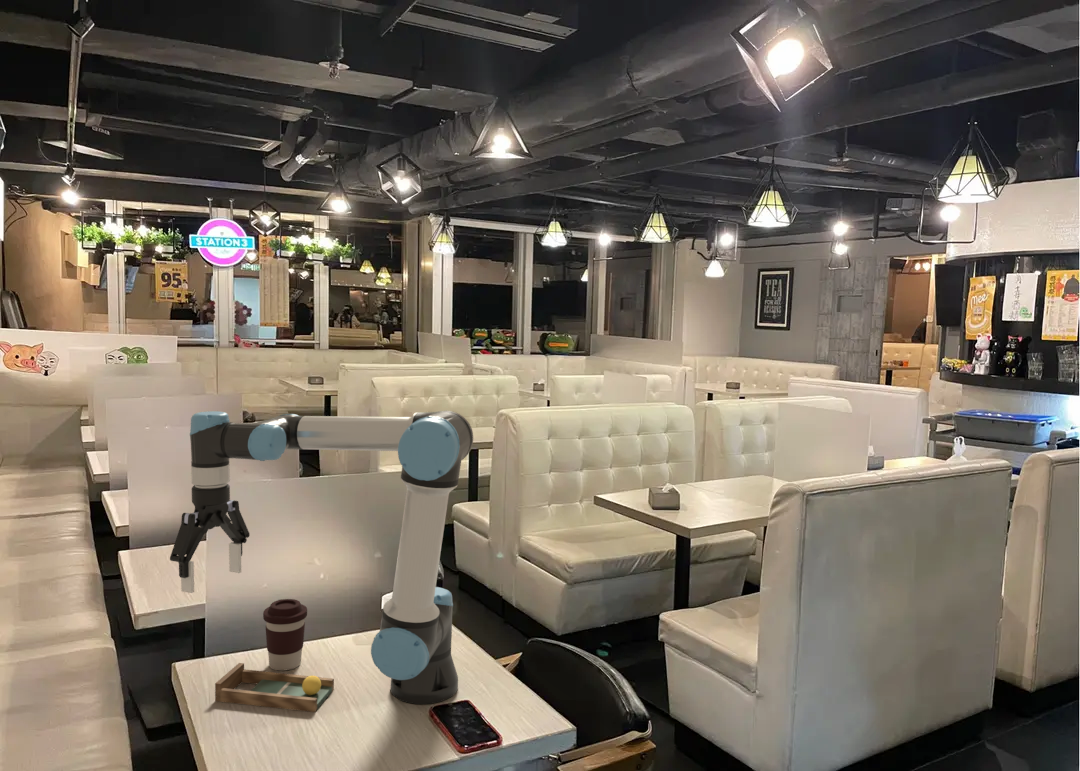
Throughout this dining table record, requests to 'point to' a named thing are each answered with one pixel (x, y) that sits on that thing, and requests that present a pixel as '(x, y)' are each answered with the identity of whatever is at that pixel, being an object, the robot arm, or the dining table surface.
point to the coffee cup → (285, 633)
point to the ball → (311, 685)
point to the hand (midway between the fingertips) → (212, 581)
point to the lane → (271, 690)
